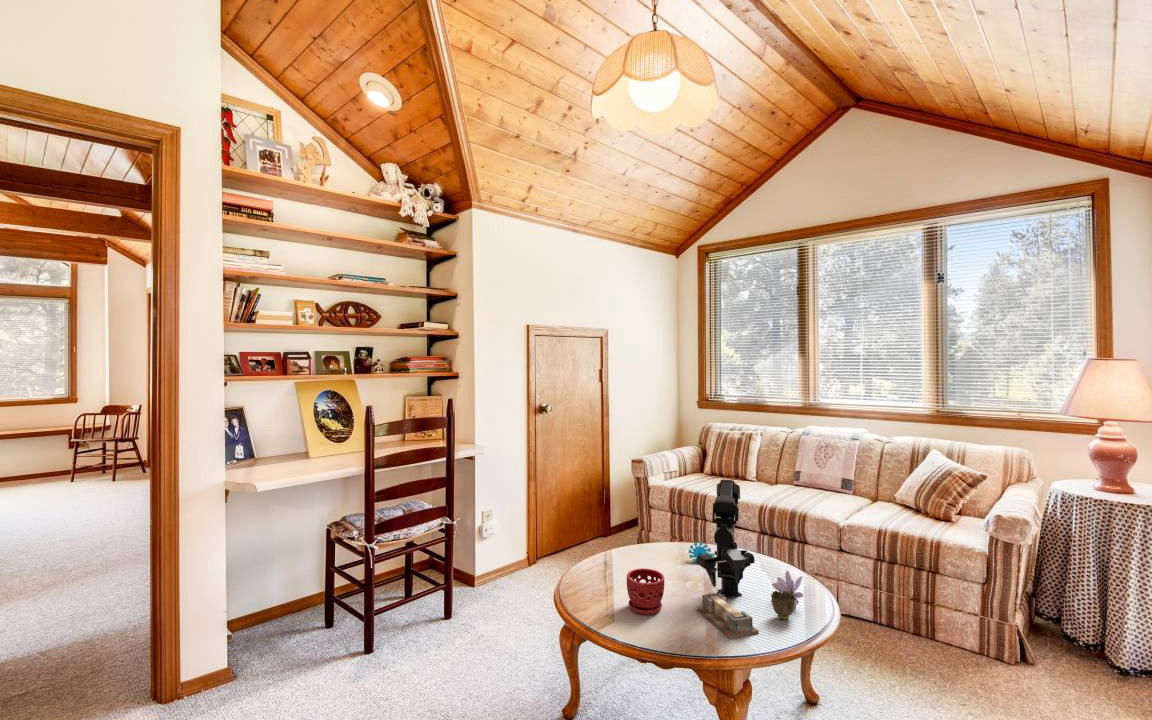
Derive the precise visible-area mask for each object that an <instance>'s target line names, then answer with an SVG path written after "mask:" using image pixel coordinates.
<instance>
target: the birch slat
mask: <svg viewBox="0 0 1152 720" xmlns="http://www.w3.org/2000/svg"><path fill="white" fill-rule="evenodd" d="M710 599H711V600H712V601H713V611H714V612H715V613H716V614H717V615H719V616H720V617H721V618H722V619H723V620H725V621H726V614H727V613H729V614H730V615H731V616H733V617H734V618H735V619H738V618H744V615H742V614H741V611H738V609H736V608H734V607H733V606H732V605H731V604H729V603H728V601H727V602H725V601H724V600H723V599H721V598H720V597H719V596H712V597H710Z"/></svg>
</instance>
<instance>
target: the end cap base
mask: <svg viewBox="0 0 1152 720" xmlns="http://www.w3.org/2000/svg"><path fill="white" fill-rule="evenodd" d="M712 596H719V597H720V598H721V599H723V600H724V601H725V602H727V603H728V600H727V597H725V596H724V595H722V594H721V593H720V592H716V593H708V594H707V593H706V594H703V595H702V605H700V606H697V611H698V612H699V613H700V614H702V615H703V616H704V617H705V618H707V619H708V620H709V621H710V622H711V623H712V624H713V625H714V626H716V627H717V628H718V629H719V630H720V631H721V632H723V633H724V635H726V636H727V637H729V639H735V638H742V637H747V636H753V635H759V634H760V633H759V630H758V629H757V628H756V627H754V626H753V617H752V616H751V615H750V614H748V613H747V612H745V611H744V610H743V611H740V613H741V614H742V615H744V618H738V619H735V618H734V617H733V616H731V615H730V614H729V613H727V614H726V621H725V620H723V619H722V618H721V617H720V616H719V615H717V614H716V613H715V612H714V611H713V601H712V600H711V599H710V597H712Z"/></svg>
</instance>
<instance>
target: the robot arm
mask: <svg viewBox="0 0 1152 720" xmlns="http://www.w3.org/2000/svg"><path fill="white" fill-rule="evenodd" d="M740 499H741V488H740V485H739V484H737V483H736V482H735V480H733V479H720V481H719V483H717V484H716V497H715V500H714V502H713V503H712V516H711V519H712V523H713V524H715V525H716V528H715V531H714V534H713V535H714V536H713V539H714V543H715V544H716V550H714V554H715V555H714V557H711V556H710V555H708V554H705V555H698V557H697V560H696V564H697V565H698V566H700V567H701V568H703V569H705V571H706V573H707V575H708V578H709V580H710V582H711V584H712V585H711V586H712V587H713V588H716V587H717V586H716V585H717V579H718V578H719V579H720V580H721V585H720V586H721V588H719V589H717V593H720V594H721V595H722V596H724V597H725V598H726V599H727V598H733V597H742V595H743V594H742V593H741V592H740V591H739V584H740V582H741V580H742V579H744V572H745V570H746V568H748V567H750V566H751V565H752V564H755V563H756V561H755V555H754V554H753V553H752V552H750V551H749V550H748V549H738V544H737V542H736V541H735V525H737V522H739V519H740V518H739V516H740V515H739V513H740V510H739V509H740V508H739V507H738V504H739V500H740ZM716 572H717V575H716ZM716 576H717V577H716Z"/></svg>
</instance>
